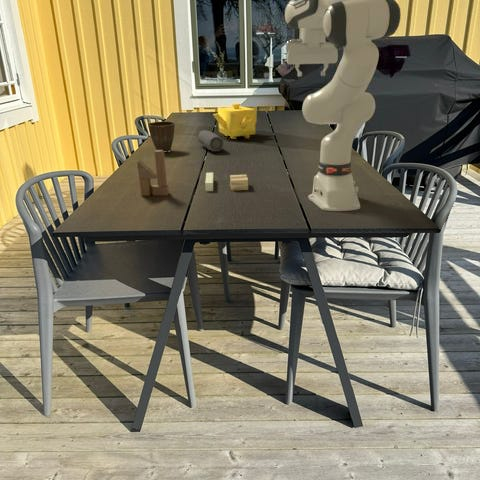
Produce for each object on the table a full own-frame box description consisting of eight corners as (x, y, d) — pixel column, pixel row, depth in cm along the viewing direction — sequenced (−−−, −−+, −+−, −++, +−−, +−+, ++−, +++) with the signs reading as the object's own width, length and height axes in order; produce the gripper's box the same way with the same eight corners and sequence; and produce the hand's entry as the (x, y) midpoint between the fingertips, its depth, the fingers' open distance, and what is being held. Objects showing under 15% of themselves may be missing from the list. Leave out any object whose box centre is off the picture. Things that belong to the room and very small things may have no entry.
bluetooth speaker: (224, 152, 242) (224, 134, 238) (209, 154, 239) (208, 136, 235) (212, 145, 262) (211, 128, 258) (197, 146, 259) (196, 129, 255)
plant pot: (179, 149, 254) (177, 121, 247) (173, 154, 240) (171, 125, 234) (155, 149, 255) (152, 121, 249) (147, 154, 242) (144, 125, 235)
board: (212, 190, 178) (212, 182, 176) (205, 191, 177) (205, 183, 176) (213, 180, 192) (213, 172, 191) (206, 180, 192) (206, 172, 191)
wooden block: (143, 193, 177) (138, 149, 170) (169, 193, 176) (165, 149, 169) (141, 196, 174) (135, 151, 166) (167, 195, 173) (163, 151, 166)
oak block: (248, 190, 178) (247, 179, 176) (231, 191, 178) (230, 180, 176) (246, 184, 185) (246, 174, 184) (230, 185, 185) (230, 175, 183)
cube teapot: (205, 135, 291) (203, 103, 282) (245, 131, 302) (244, 99, 293) (225, 144, 262) (224, 108, 253) (268, 139, 273) (269, 104, 264)
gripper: (287, 39, 166) (286, 77, 171) (340, 37, 166) (337, 75, 172) (285, 39, 172) (284, 76, 177) (336, 38, 172) (334, 75, 178)
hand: (311, 76), depth 175 cm, fingers open, 8 cm apart
